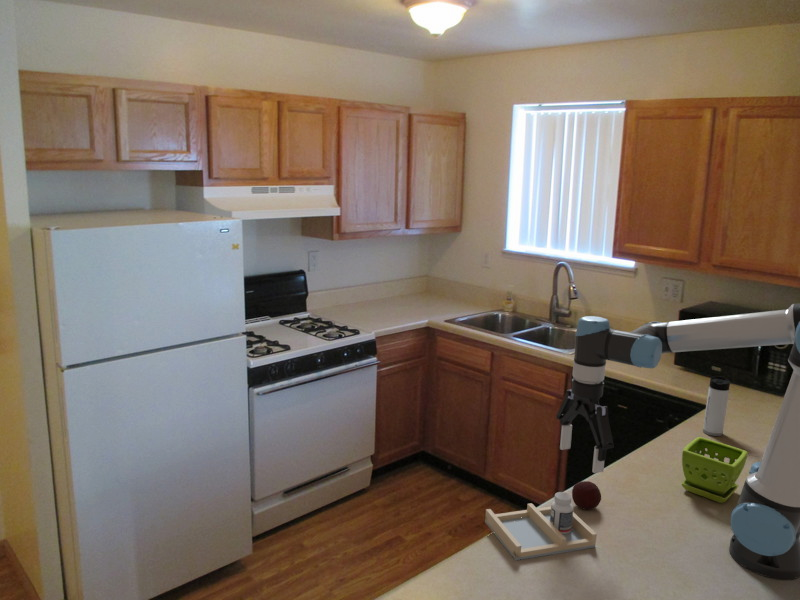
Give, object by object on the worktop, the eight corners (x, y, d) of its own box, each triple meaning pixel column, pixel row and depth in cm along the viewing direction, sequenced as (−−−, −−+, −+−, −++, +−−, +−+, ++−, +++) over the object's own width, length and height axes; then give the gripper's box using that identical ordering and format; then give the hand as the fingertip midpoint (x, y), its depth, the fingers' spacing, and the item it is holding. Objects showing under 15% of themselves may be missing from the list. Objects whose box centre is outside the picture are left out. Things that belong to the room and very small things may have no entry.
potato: (565, 502, 169) (567, 478, 168) (588, 498, 173) (590, 474, 171) (583, 516, 163) (585, 491, 161) (606, 511, 166) (609, 486, 164)
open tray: (595, 547, 150) (596, 533, 149) (515, 560, 143) (516, 546, 143) (558, 511, 165) (559, 499, 164) (485, 522, 159) (485, 509, 158)
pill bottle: (574, 528, 156) (578, 495, 154) (565, 537, 152) (568, 503, 150) (555, 520, 159) (558, 488, 158) (545, 528, 155) (548, 496, 154)
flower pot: (675, 490, 178) (680, 449, 176) (692, 475, 188) (697, 435, 186) (728, 510, 169) (735, 466, 166) (743, 492, 179) (749, 450, 177)
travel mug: (723, 431, 222) (731, 377, 218) (721, 438, 216) (729, 382, 212) (704, 427, 225) (711, 374, 221) (701, 433, 220) (709, 379, 216)
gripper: (635, 394, 144) (626, 480, 148) (571, 363, 167) (564, 438, 171) (608, 397, 142) (599, 484, 146) (546, 365, 165) (540, 441, 169)
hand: (580, 459), depth 158 cm, fingers open, 13 cm apart
